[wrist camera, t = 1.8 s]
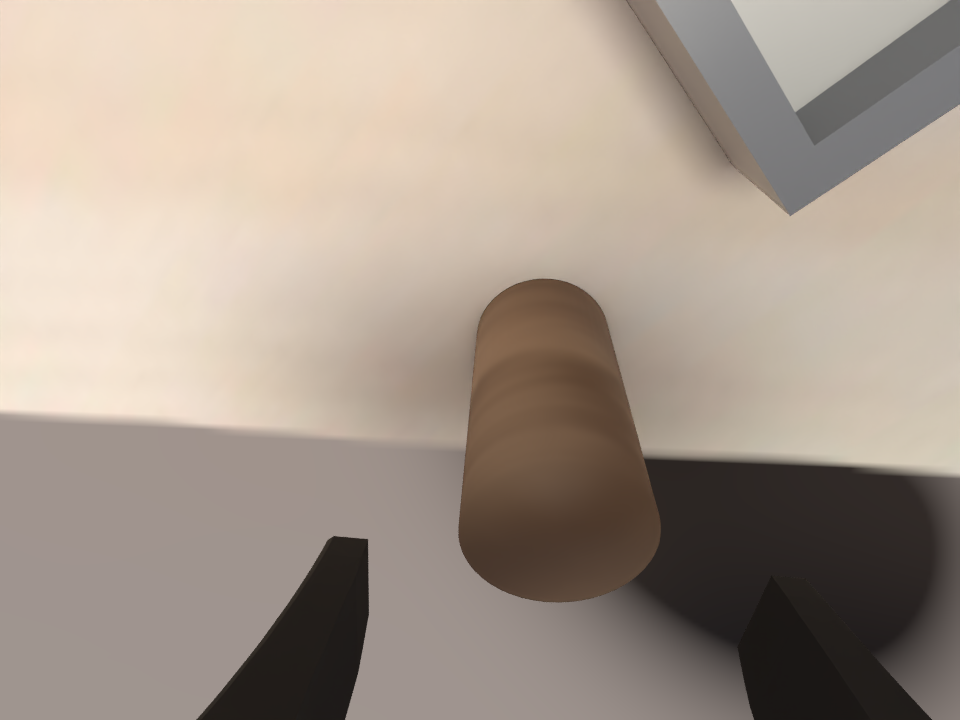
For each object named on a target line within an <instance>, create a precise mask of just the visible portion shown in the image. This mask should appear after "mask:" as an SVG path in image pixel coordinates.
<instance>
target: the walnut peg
mask: <svg viewBox="0 0 960 720" xmlns="http://www.w3.org/2000/svg"><path fill="white" fill-rule="evenodd" d="M660 535H661V524H660V517H659V514H658V510H657V506H656V503H655V499H654V495H653V491H652V488H651V484H650V480H649V477H648V473H647V470H646V466H645V462H644V458H643V454H642V451H641V447H640V443H639V440H638V436H637V432H636V428H635V425H634V421H633V417H632V414H631V410H630V406H629V403H628V399H627V395H626V392H625V388H624V384H623V381H622V377H621V373H620V369H619V366H618V362H617V358H616V355H615V351H614V347H613V344H612V340H611V336H610V333H609V329H608V325H607V322H606V319H605V316H604V314H603V312H602V310H601V308H600V306H599V305H598V304H597V302H596V301H595V300H594V299H593V298H592V297H591V296H590V295H589V294H588V293H586V292H585V291H584V290H582V289H580V288H579V287H577V286H575V285H572V284H570V283H567V282H563V281H560V280H553V279H536V280H529V281H525V282H522V283H519V284H516V285H514V286H512V287H510V288H508V289H506V290H505V291H503V292H501V293H500V294H499V295H498V296H497V297H495V298H494V299H493V300H492V301H491V303H490V304H489V305H488V306H487V308H486V309H485V311H484V313H483V315H482V317H481V319H480V322H479V325H478V330H477V339H476V349H475V360H474V371H473V381H472V391H471V402H470V412H469V423H468V433H467V444H466V454H465V466H464V475H463V486H462V496H461V507H460V517H459V542H460V546H461V549H462V552H463V554H464V556H465V558H466V559H467V561H468V563H469V564H470V566H471V567H472V568H473V569H474V571H475V572H477V573H478V574H479V575H480V576H481V577H482V578H483V579H484V580H486V581H487V582H488V583H490V584H491V585H493V586H495V587H497V588H498V589H500V590H502V591H505V592H507V593H509V594H512V595H515V596H518V597H521V598H525V599H530V600H536V601H543V602H572V601H579V600H585V599H590V598H594V597H597V596H601V595H604V594H606V593H609V592H611V591H613V590H616V589H618V588H619V587H621V586H623V585H625V584H627V583H628V582H629V581H631V580H632V579H634V578H635V577H636V576H637V575H638V574H639V573H640V572H641V571H643V570H644V568H645V567H646V566H647V565H648V564H649V562H650V561H651V559H652V558H653V556H654V554H655V552H656V550H657V547H658V544H659V540H660Z"/></svg>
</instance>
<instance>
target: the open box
mask: <svg viewBox="0 0 960 720" xmlns="http://www.w3.org/2000/svg"><path fill="white" fill-rule="evenodd" d="M627 2H628V3H629V5H630V6H631V8H632V9H633V11H634V13H635V14H636V16H637V17H638V19H639V20H640V22H641V23H642V25H643V27H644V28H645V30H646V31H647V33H648V34H649V36H650V37H651V39H652V41H653V42H654V44H655V45H656V47H657V48H658V50H659V51H660V53H661V55H662V56H663V58H664V59H665V61H666V62H667V64H668V65H669V67H670V69H671V70H672V72H673V73H674V75H675V76H676V78H677V79H678V81H679V83H680V84H681V86H682V87H683V89H684V90H685V92H686V93H687V95H688V96H689V98H690V100H691V101H692V103H693V104H694V106H695V107H696V109H697V110H698V112H699V114H700V115H701V117H702V118H703V120H704V121H705V123H706V124H707V126H708V128H709V129H710V131H711V132H712V134H713V135H714V137H715V138H716V140H717V142H718V143H719V145H720V146H721V148H722V149H723V151H724V152H725V154H726V156H727V157H728V159H729V160H730V162H731V163H732V165H733V166H734V167H735V168H736V169H737V170H739V171H740V172H741V173H742V174H743V175H744V176H745V177H746V178H748V179H749V180H750V181H751V182H752V183H753V184H754V185H756V186H757V187H758V188H759V189H760V190H761V191H762V192H764V193H765V194H766V195H767V196H768V197H769V198H770V199H771V200H773V201H774V202H775V203H776V204H777V205H778V206H779V207H781V208H782V209H783V210H784V211H785V212H786V213H787V214H789V215H790V216H791V215H793V214H794V213H796V212H797V211H799V210H800V209H802V208H803V207H805V206H806V205H808V204H809V203H811V202H812V201H814V200H815V199H817V198H818V197H820V196H821V195H823V194H824V193H826V192H827V191H829V190H830V189H832V188H833V187H835V186H836V185H838V184H839V183H841V182H843V181H844V180H846V179H847V178H849V177H850V176H852V175H853V174H855V173H856V172H858V171H859V170H861V169H862V168H864V167H865V166H867V165H868V164H870V163H871V162H873V161H874V160H876V159H877V158H879V157H880V156H882V155H883V154H885V153H886V152H888V151H889V150H891V149H892V148H894V147H895V146H897V145H899V144H900V143H902V142H903V141H905V140H906V139H908V138H909V137H911V136H912V135H914V134H915V133H917V132H918V131H920V130H921V129H923V128H924V127H926V126H927V125H929V124H930V123H932V122H933V121H935V120H936V119H938V118H939V117H941V116H942V115H944V114H945V113H947V112H948V111H950V110H951V109H953V108H955V107H956V106H958V105H959V104H960V0H627Z"/></svg>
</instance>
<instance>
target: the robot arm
mask: <svg viewBox="0 0 960 720" xmlns="http://www.w3.org/2000/svg"><path fill="white" fill-rule="evenodd" d="M368 590H369V588H368V539H359V538H348V537H337V536H334V537H332V538H330V539H329V540H328V541H327V542H326V544H325V546H324V548H323V550H322V551H321V553H320V555H319V557H318V558H317V560H316V562H315V563H314V565H313V567H312V568H311V570H310V571H309V573H308V575H307V576H306V578H305V579H304V581H303V582H302V584H301V585H300V587H299V588H298V590H297V591H296V593H295V594H294V596H293V597H292V599H291V600H290V602H289V603H288V605H287V606H286V608H285V609H284V610H283V612H282V613H281V614H280V616H279V617H278V618H277V620H276V621H275V623H274V624H273V625H272V627H271V628H270V630H269V631H268V632H267V634H266V635H265V636H264V638H263V639H262V641H261V642H260V643H259V644H258V646H257V647H256V648H255V650H254V651H253V652H252V653H251V655H250V656H249V657H248V658H247V660H246V661H245V662H244V663H243V665H242V666H241V667H240V668H239V670H238V671H237V672H236V673H235V675H234V676H233V677H232V678H231V680H230V681H229V682H228V683H227V685H226V686H225V687H224V688H223V690H222V691H221V692H220V693H219V694H218V696H217V697H216V698H215V699H214V700H213V702H212V703H211V704H210V705H209V706H208V707H207V708H206V710H205V711H204V712H203V713H202V714H201V715H200V716H199V718H198V719H197V720H345V718H346V714H347V710H348V707H349V703H350V700H351V696H352V693H353V689H354V686H355V682H356V678H357V675H358V671H359V665H360V660H361V654H362V649H363V643H364V638H365V632H366V626H367V621H368V616H369V595H368V594H369V592H368ZM738 651H739V657H740V662H741V667H742V672H743V677H744V682H745V686H746V691H747V695H748V700H749V704H750V708H751V711H752V714H753V717H754V720H932V719H931V718H930V717H929V716H928V715H927V714H926V713H925V712H924V711H923V710H922V709H921V707H920V706H919V705H918V704H917V703H916V702H915V701H914V700H913V699H912V698H911V697H910V696H909V695H908V693H907V692H906V691H905V690H904V689H903V688H902V687H901V686H900V685H899V684H898V683H897V681H896V680H895V679H894V678H893V677H892V676H891V675H890V674H889V673H888V672H887V670H886V669H885V668H884V667H883V666H882V665H881V664H880V663H879V661H878V660H877V659H876V658H875V657H874V656H873V655H872V654H871V652H870V651H869V650H868V649H867V648H866V647H865V646H864V644H863V643H862V642H861V641H860V640H859V639H858V638H857V637H856V635H855V634H854V633H853V632H852V631H851V630H850V629H849V627H848V626H847V625H846V624H845V623H844V622H843V621H842V619H841V618H840V617H839V616H838V615H837V614H836V613H835V611H834V610H833V609H832V608H831V607H830V606H829V604H828V603H827V602H826V601H825V600H824V599H823V598H822V596H821V595H820V594H819V593H818V592H817V591H816V590H815V589H814V588H813V586H812V585H811V584H810V583H809V582H808V581H807V580H806V579H802V578H791V577H780V576H771V578H770V580H769V582H768V584H767V586H766V588H765V590H764V593H763V595H762V597H761V599H760V601H759V603H758V605H757V607H756V609H755V611H754V614H753V616H752V618H751V620H750V622H749V624H748V626H747V629H746V631H745V632H744V634H743V637H742V639H741V641H740V643H739V645H738Z"/></svg>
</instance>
